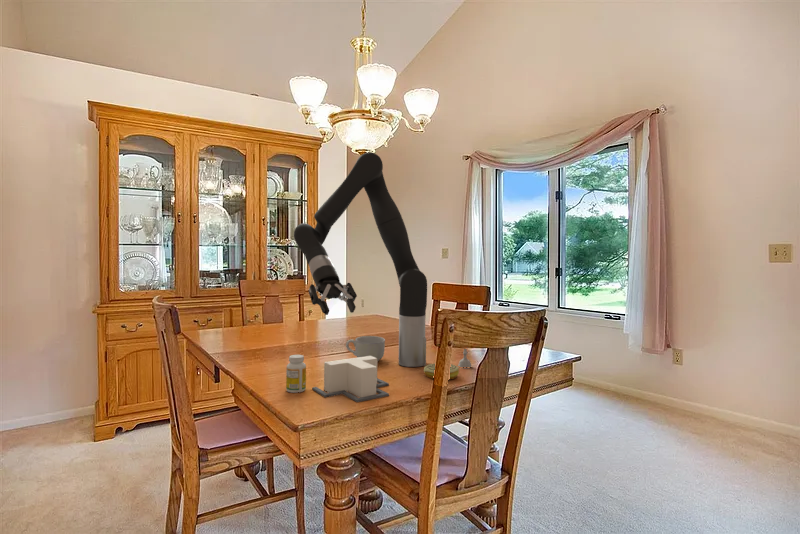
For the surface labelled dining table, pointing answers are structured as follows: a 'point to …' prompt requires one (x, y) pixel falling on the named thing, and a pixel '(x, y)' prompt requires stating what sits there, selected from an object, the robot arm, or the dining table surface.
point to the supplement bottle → (296, 374)
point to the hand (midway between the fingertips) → (340, 312)
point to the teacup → (368, 346)
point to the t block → (351, 376)
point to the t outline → (356, 399)
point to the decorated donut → (431, 367)
